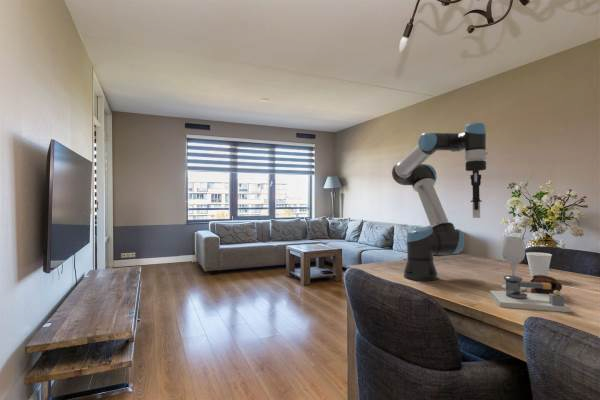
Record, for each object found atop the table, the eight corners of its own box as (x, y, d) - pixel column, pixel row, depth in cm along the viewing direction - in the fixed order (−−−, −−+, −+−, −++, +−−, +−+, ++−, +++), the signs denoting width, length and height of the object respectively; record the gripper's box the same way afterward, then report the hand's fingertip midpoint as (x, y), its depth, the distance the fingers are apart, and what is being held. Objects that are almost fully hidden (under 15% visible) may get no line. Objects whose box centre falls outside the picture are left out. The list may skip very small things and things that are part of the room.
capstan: (505, 297, 117) (505, 278, 117) (502, 292, 123) (502, 274, 123) (553, 301, 112) (552, 281, 112) (547, 296, 118) (547, 277, 118)
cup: (543, 275, 157) (543, 252, 156) (557, 280, 147) (557, 255, 147) (521, 275, 158) (521, 252, 157) (534, 280, 148) (533, 255, 148)
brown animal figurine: (522, 293, 130) (525, 274, 132) (541, 302, 131) (543, 283, 134) (552, 293, 118) (554, 272, 121) (572, 303, 120) (574, 282, 122)
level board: (500, 306, 113) (499, 288, 113) (490, 294, 127) (490, 278, 127) (570, 312, 107) (570, 292, 107) (551, 298, 121) (551, 281, 121)
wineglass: (522, 286, 138) (521, 236, 138) (529, 291, 130) (528, 238, 130) (499, 284, 141) (498, 236, 141) (504, 290, 133) (503, 238, 133)
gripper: (486, 158, 129) (487, 218, 129) (485, 161, 140) (486, 216, 140) (464, 160, 132) (465, 218, 132) (466, 163, 144) (466, 216, 144)
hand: (476, 217), depth 136 cm, fingers closed
